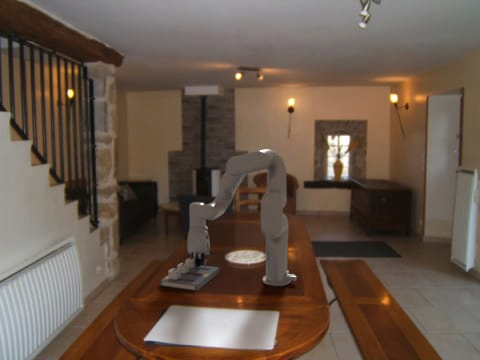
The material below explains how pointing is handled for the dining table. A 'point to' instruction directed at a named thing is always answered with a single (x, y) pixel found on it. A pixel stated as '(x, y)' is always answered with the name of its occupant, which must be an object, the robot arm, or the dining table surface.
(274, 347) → the dining table surface
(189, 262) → the switch
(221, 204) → the robot arm
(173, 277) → the switch
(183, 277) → the switch unit
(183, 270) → the switch
